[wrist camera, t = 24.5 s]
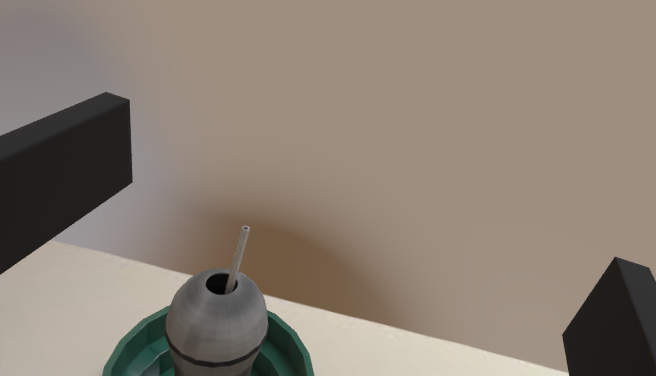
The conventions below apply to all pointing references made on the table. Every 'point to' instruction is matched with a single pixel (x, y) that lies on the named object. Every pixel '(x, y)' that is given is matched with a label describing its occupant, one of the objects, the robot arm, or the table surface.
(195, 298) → the beverage cup
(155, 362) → the green pet bowl
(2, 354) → the table surface
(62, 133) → the robot arm
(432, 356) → the table surface
